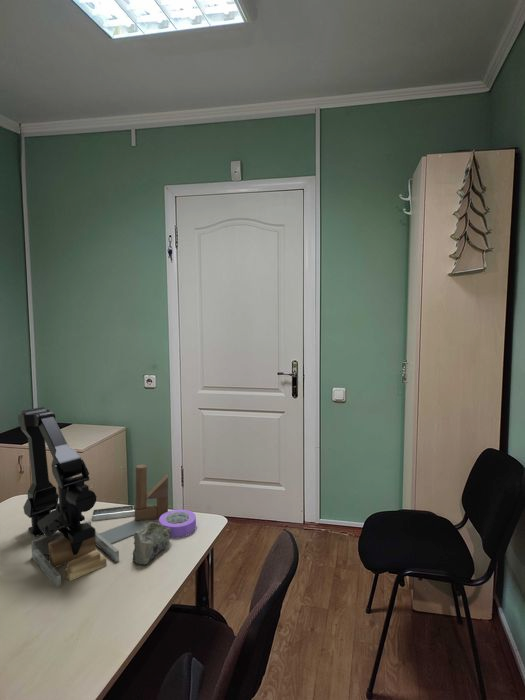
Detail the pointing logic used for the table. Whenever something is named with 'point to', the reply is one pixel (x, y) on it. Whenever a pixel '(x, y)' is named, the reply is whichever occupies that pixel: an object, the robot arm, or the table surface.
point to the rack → (41, 544)
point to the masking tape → (181, 528)
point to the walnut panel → (68, 551)
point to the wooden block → (149, 496)
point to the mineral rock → (149, 541)
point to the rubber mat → (122, 531)
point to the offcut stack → (85, 565)
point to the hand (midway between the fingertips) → (73, 551)
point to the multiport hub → (113, 513)
